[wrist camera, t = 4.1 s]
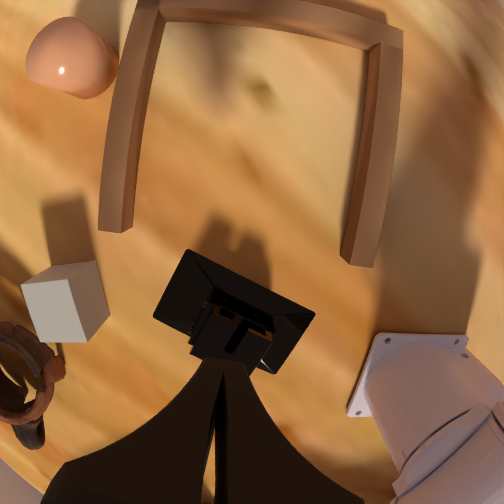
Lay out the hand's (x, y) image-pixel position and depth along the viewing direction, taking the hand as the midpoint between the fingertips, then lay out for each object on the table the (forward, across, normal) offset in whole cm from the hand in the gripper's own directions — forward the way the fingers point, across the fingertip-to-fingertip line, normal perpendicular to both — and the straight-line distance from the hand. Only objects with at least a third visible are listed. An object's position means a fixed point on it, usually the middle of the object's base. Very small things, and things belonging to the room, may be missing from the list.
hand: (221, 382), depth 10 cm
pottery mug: (+10, +17, +12) cm, 23 cm away
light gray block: (+10, +11, +2) cm, 15 cm away
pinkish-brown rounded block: (+10, +11, -12) cm, 20 cm away
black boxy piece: (+11, 0, +2) cm, 11 cm away
